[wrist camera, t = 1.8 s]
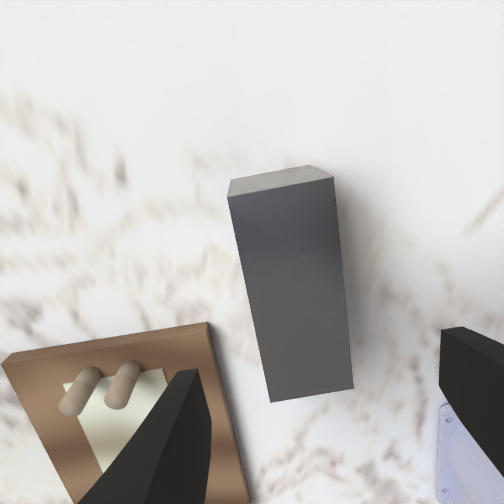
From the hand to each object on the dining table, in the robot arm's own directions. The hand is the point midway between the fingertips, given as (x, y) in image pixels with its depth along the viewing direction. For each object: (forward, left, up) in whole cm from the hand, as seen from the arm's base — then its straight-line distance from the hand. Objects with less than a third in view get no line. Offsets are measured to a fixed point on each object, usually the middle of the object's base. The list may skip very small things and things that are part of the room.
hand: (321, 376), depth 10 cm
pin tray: (-11, +11, -9) cm, 18 cm away
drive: (0, 0, -9) cm, 9 cm away
